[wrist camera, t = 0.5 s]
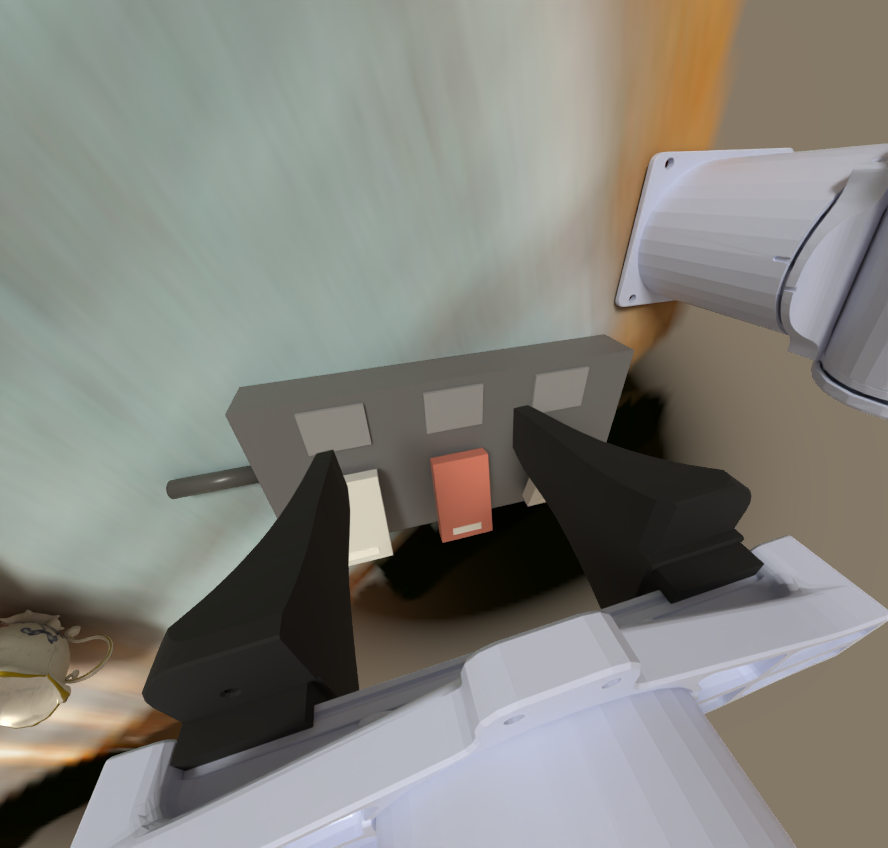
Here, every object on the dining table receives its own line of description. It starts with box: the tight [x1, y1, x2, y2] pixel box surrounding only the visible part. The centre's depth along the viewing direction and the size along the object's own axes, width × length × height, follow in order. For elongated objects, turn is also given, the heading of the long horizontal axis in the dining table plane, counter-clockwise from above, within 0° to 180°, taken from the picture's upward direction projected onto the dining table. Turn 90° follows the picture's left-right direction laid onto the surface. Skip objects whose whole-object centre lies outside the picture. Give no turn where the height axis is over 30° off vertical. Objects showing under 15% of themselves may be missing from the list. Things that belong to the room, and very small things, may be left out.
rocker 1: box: [343, 469, 393, 566], centre depth 21 cm, size 4×6×2 cm, turn 2°
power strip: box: [166, 335, 634, 532], centre depth 23 cm, size 30×12×3 cm, turn 92°
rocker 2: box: [522, 478, 546, 506], centre depth 24 cm, size 4×6×2 cm, turn 2°
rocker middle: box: [430, 448, 492, 543], centre depth 23 cm, size 4×6×2 cm, turn 2°
